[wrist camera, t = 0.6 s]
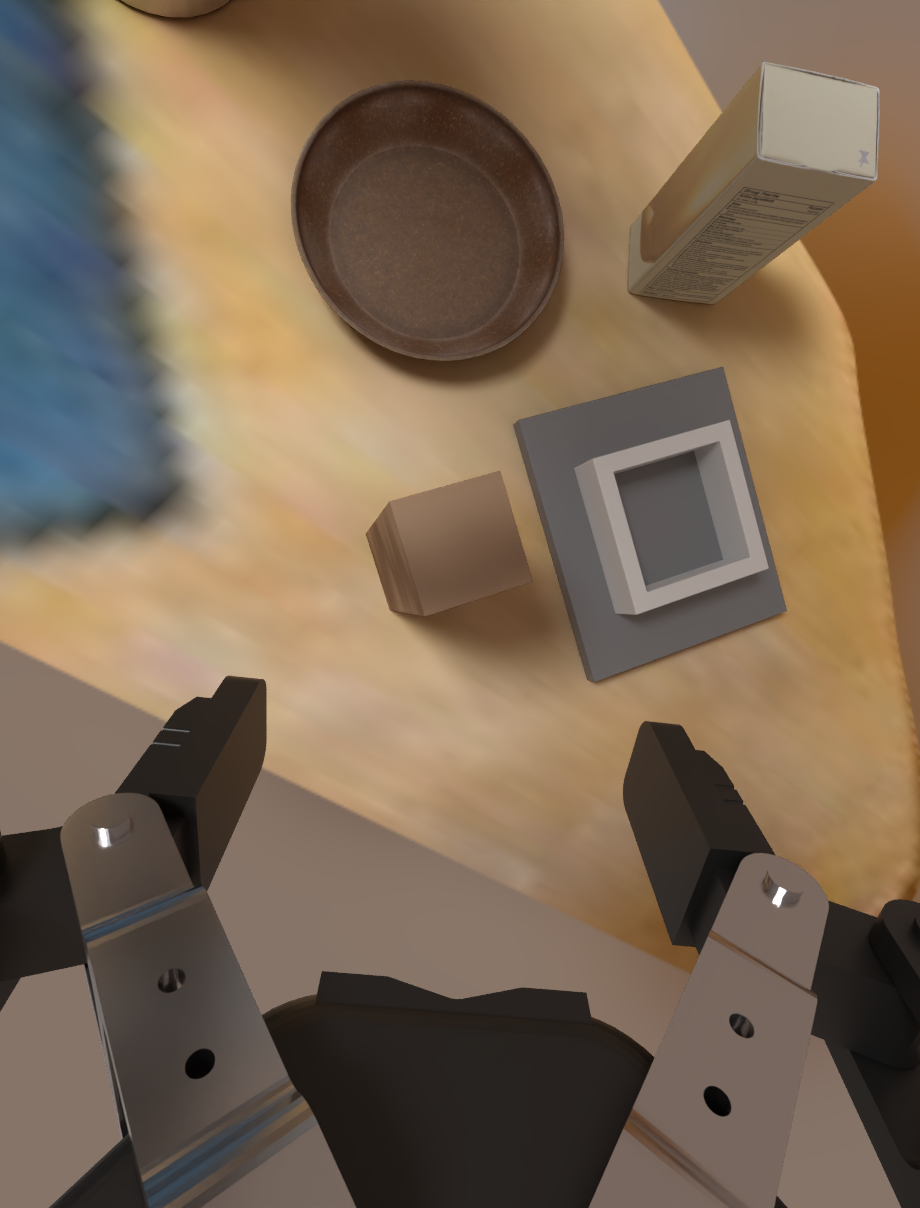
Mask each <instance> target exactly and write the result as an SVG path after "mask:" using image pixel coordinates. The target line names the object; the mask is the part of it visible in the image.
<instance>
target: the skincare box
mask: <svg viewBox="0 0 920 1208" xmlns="http://www.w3.org/2000/svg"><path fill="white" fill-rule="evenodd" d="M878 138H879V89H878V88H877V87H875V86H871V85H867V84H864V83H860V82H857V81H852V80H849V79H845V78H841V77H836V76H831V75H828V74H824V73H818V72H814V71H809V70H805V69H799V68H795V67H789V66H784V65H777V64H773V63H768V62H763V63H762V64H761V65H760V67H759V68H758V69H757V70H756V72H755V73H754V74H753V75H752V77H751V78H750V79H749V80H748V81H747V83H746V84H745V85H744V86H743V88H742V89H741V90H740V91H739V93H738V94H737V95H736V96H735V98H734V99H733V100H732V101H731V103H730V104H729V105H728V106H727V108H726V109H725V110H724V111H723V113H722V114H721V115H720V116H719V118H718V119H717V120H716V121H715V122H714V124H713V125H712V126H711V127H710V129H709V130H708V131H707V132H706V134H705V135H704V136H703V137H702V139H701V140H700V141H699V142H698V144H697V145H696V146H695V147H694V149H693V150H692V151H691V152H690V153H689V155H688V156H687V157H686V158H685V160H684V161H683V162H682V163H681V165H680V166H679V167H678V168H677V169H676V171H675V172H674V173H673V174H672V176H671V177H670V178H669V180H668V181H667V182H666V183H665V185H664V186H663V187H662V188H661V189H660V191H659V192H658V193H657V195H656V196H655V197H654V198H653V199H652V201H651V202H650V203H649V204H648V206H647V207H646V208H645V209H644V210H643V212H642V213H641V214H640V215H639V217H638V218H637V219H636V220H635V222H634V223H633V224H632V226H631V233H630V250H629V275H628V290H629V292H630V293H632V294H638V295H643V296H650V297H656V298H664V299H671V300H679V301H687V302H696V303H706V304H716V303H717V302H719V301H720V300H721V299H723V298H724V297H725V296H726V295H728V294H729V293H730V292H732V291H733V290H734V289H736V288H737V287H738V286H739V285H741V284H742V283H743V282H745V281H746V280H747V279H748V278H750V277H751V276H752V275H754V274H755V273H756V272H758V271H759V270H760V269H761V268H763V267H764V266H765V265H767V264H768V263H769V262H771V261H772V260H773V259H775V258H776V257H777V256H778V255H780V254H781V253H782V252H784V251H785V250H786V249H787V248H789V247H790V246H791V245H793V244H794V243H795V242H797V241H798V240H799V239H801V238H802V237H803V236H804V235H806V234H807V233H808V232H810V231H811V230H812V229H814V228H815V227H816V226H817V225H819V224H820V223H822V222H823V221H824V220H825V219H826V218H828V217H829V216H831V215H832V214H833V213H834V212H836V211H837V210H838V209H840V208H841V207H842V206H843V205H844V204H846V203H847V202H849V201H850V200H851V199H852V198H854V197H855V196H856V195H858V194H859V193H860V192H862V191H863V190H864V189H866V188H867V187H868V186H870V185H871V184H872V183H873V182H874V181H876V179H877V163H878V141H879V140H878Z"/></svg>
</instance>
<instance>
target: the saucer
mask: <svg viewBox="0 0 920 1208" xmlns="http://www.w3.org/2000/svg"><path fill="white" fill-rule="evenodd" d="M291 214H292V225H293V230H294V235H295V240H296V244H297V247H298V250H299V253H300V256H301V259H302V261H303V263H304V265H305V268H306V270H307V272H308V274H309V276H310V278H311V280H312V281H313V283H314V285H315V286H316V288H317V289H318V291H319V292H320V294H321V295H322V297H323V298H324V299H325V300H326V302H327V303H328V304H329V305H330V306H331V308H332V309H333V310H334V311H335V312H336V313H337V314H338V315H339V316H340V317H341V318H342V319H343V320H344V321H345V322H346V323H348V324H349V325H350V326H351V327H352V328H354V329H355V330H356V331H358V332H359V333H360V334H362V335H363V336H365V337H366V338H368V339H370V340H371V341H373V342H375V343H377V344H378V345H380V346H382V347H385V348H387V349H389V350H391V351H394V352H396V353H399V354H402V355H406V356H409V357H414V358H418V359H425V360H433V361H456V360H464V359H470V358H474V357H478V356H481V355H485V354H487V353H490V352H493V351H495V350H497V349H499V348H501V347H503V346H505V345H506V344H508V343H510V342H511V341H513V340H514V339H516V338H517V337H518V336H519V335H521V334H522V333H523V332H524V331H525V330H526V329H527V328H528V327H529V326H530V325H531V324H532V323H533V322H534V321H535V319H536V318H537V317H538V316H539V314H540V313H541V311H542V310H543V308H544V307H545V305H546V304H547V302H548V300H549V299H550V296H551V295H552V292H553V290H554V288H555V285H556V282H557V280H558V276H559V273H560V269H561V264H562V257H563V248H564V229H563V220H562V212H561V208H560V204H559V200H558V196H557V193H556V190H555V187H554V184H553V182H552V179H551V177H550V175H549V173H548V171H547V169H546V167H545V165H544V163H543V162H542V160H541V158H540V156H539V155H538V153H537V152H536V150H535V149H534V148H533V146H532V145H531V144H530V143H529V141H528V140H527V139H526V138H525V136H524V135H523V134H522V133H521V132H520V131H519V130H518V129H517V128H516V127H515V126H514V125H513V124H512V123H511V122H510V121H509V120H508V119H507V118H506V117H504V116H503V115H502V114H501V113H499V112H498V111H497V110H495V109H494V108H493V107H491V106H489V105H488V104H486V103H484V102H482V101H481V100H479V99H477V98H475V97H473V96H472V95H469V94H467V93H465V92H462V91H460V90H457V89H454V88H451V87H448V86H445V85H441V84H436V83H430V82H422V81H397V82H390V83H385V84H380V85H377V86H374V87H371V88H368V89H365V90H362V91H360V92H358V93H356V94H354V95H352V96H350V97H349V98H347V99H345V100H344V101H342V102H341V103H340V104H338V105H337V106H336V107H334V108H333V109H332V110H331V111H330V112H329V113H328V114H327V115H326V116H325V117H324V118H323V119H322V120H321V121H320V122H319V123H318V125H317V126H316V128H315V129H314V131H313V132H312V133H311V135H310V136H309V138H308V140H307V142H306V144H305V146H304V148H303V150H302V152H301V155H300V157H299V160H298V163H297V166H296V169H295V173H294V178H293V183H292V193H291Z"/></svg>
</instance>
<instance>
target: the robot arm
mask: <svg viewBox="0 0 920 1208" xmlns="http://www.w3.org/2000/svg"><path fill="white" fill-rule="evenodd" d="M122 1H123V2H125V3H127V4H128V5H130V6H133V7H135V8H138V9H140V10H143V11H145V12H148V13H151V14H156V15H161V16H166V17H193V16H198V15H202V14H207V13H209V12H211V11H213V10H215V9H217V8H219V7H222V6H223V5H224V4H226V3H227V2H228V1H229V0H122ZM163 728H164V729H163V731H160V732H159V734H158V735H157V737H156V738H155V739H154V741H153V745H150V746H149V747H148V749H147V750H146V752H145V753H144V754H143V756H142V757H141V758H140V760H139V761H138V762H137V764H136V765H135V767H134V768H133V770H132V771H131V772H130V773H129V775H128V776H127V777H126V779H125V780H124V782H123V783H122V784H121V786H120V787H119V789H118V790H117V791H116V792H115V794H111V795H107V796H103V797H101V798H98V799H95V800H93V801H91V802H89V803H87V804H85V805H83V806H82V807H80V808H79V809H78V810H76V811H75V812H74V813H73V814H72V815H71V816H70V817H69V818H68V819H67V820H66V822H65V823H64V825H63V826H61V827H58V828H52V829H47V830H40V831H32V832H26V833H19V834H11V835H4V836H1V832H0V1011H1V1010H2V1008H3V1006H4V1005H5V1003H6V1001H7V1000H8V998H9V996H10V995H11V993H12V991H13V990H14V988H15V986H16V985H17V983H18V981H19V979H20V978H21V977H25V976H30V975H35V974H40V973H44V972H49V971H54V970H58V969H63V968H68V967H72V966H77V965H82V964H83V965H84V970H85V974H86V978H87V983H88V987H89V992H90V996H91V1001H92V1005H93V1009H94V1014H95V1019H96V1023H97V1027H98V1032H99V1036H100V1041H101V1045H102V1050H103V1054H104V1059H105V1063H106V1068H107V1073H108V1078H109V1082H110V1087H111V1092H112V1097H113V1102H114V1107H115V1112H116V1117H117V1121H118V1126H119V1130H120V1135H121V1139H122V1140H121V1141H120V1142H119V1143H118V1144H117V1145H116V1146H115V1147H113V1148H112V1150H110V1151H109V1152H108V1153H107V1154H106V1155H105V1156H104V1157H103V1158H102V1159H101V1160H100V1161H98V1162H97V1163H96V1164H95V1165H94V1166H93V1167H92V1168H91V1169H90V1170H89V1171H88V1172H87V1173H86V1174H85V1175H83V1176H82V1177H81V1178H80V1179H79V1180H78V1181H77V1182H76V1183H75V1184H74V1185H73V1186H72V1187H71V1188H70V1189H68V1190H67V1191H66V1192H65V1193H64V1194H63V1195H62V1196H61V1197H60V1198H59V1199H58V1200H57V1201H56V1202H55V1203H53V1204H52V1205H51V1206H50V1208H787V1207H786V1205H784V1203H783V1202H782V1201H781V1200H780V1199H779V1197H778V1196H777V1191H778V1187H779V1182H780V1177H781V1172H782V1167H783V1163H784V1158H785V1153H786V1148H787V1144H788V1139H789V1134H790V1129H791V1125H792V1120H793V1115H794V1111H795V1106H796V1101H797V1096H798V1092H799V1086H800V1082H801V1077H802V1073H803V1068H804V1063H805V1058H806V1054H807V1049H808V1044H809V1039H810V1035H814V1036H816V1037H819V1038H821V1039H824V1040H825V1042H826V1045H827V1046H828V1048H829V1051H830V1053H831V1055H832V1058H833V1060H834V1062H835V1064H836V1066H837V1069H838V1071H839V1073H840V1075H841V1077H842V1079H843V1082H844V1084H845V1086H846V1088H847V1090H848V1093H849V1095H850V1097H851V1099H852V1101H853V1103H854V1106H855V1108H856V1110H857V1112H858V1114H859V1116H860V1119H861V1121H862V1123H863V1125H864V1127H865V1129H866V1132H867V1134H868V1136H869V1138H870V1140H871V1143H872V1145H873V1147H874V1149H875V1151H876V1153H877V1156H878V1158H879V1160H880V1162H881V1164H882V1166H883V1168H884V1171H885V1173H886V1175H887V1177H888V1180H889V1182H890V1184H891V1186H892V1188H893V1190H894V1192H895V1195H896V1197H897V1199H898V1201H899V1203H900V1206H901V1208H920V903H917V902H914V901H909V900H900V899H899V900H892V901H889V902H888V903H886V904H885V906H884V907H883V909H882V911H881V912H880V914H879V916H878V918H877V917H874V916H871V915H868V914H865V913H862V912H859V911H856V910H853V909H851V908H848V907H845V906H842V905H839V904H836V903H833V902H831V901H828V899H827V896H826V894H825V892H824V891H823V889H822V887H821V886H820V885H819V884H818V882H817V881H816V880H815V879H814V878H813V877H812V876H811V875H810V874H808V873H807V872H806V871H805V870H803V869H802V868H800V867H799V866H797V865H796V864H794V863H792V862H790V861H788V860H786V859H784V858H781V857H778V856H776V855H775V854H774V852H773V850H772V849H771V847H770V845H769V844H768V842H767V840H766V839H765V837H764V835H763V834H762V832H761V830H760V829H759V827H758V825H757V824H756V822H755V820H754V819H753V817H752V815H751V814H750V812H749V810H748V809H747V807H746V805H743V800H742V799H741V797H740V795H739V794H738V792H737V790H734V785H733V784H732V782H731V780H730V779H729V777H728V775H727V774H726V772H725V770H724V769H723V767H722V766H720V765H719V764H718V763H717V762H716V761H715V760H714V759H713V758H711V757H710V756H709V755H708V754H707V753H706V752H705V751H700V750H695V748H694V746H693V745H692V743H691V741H690V739H689V737H688V736H687V734H686V732H685V730H684V729H683V727H682V726H681V725H676V724H667V723H657V722H648V721H645V722H643V723H642V725H641V726H640V729H639V732H638V735H637V738H636V742H635V745H634V748H633V752H632V755H631V758H630V762H629V765H628V768H627V772H626V775H625V779H624V785H623V800H624V806H625V810H626V813H627V815H628V818H629V821H630V824H631V827H632V830H633V833H634V836H635V839H636V841H637V844H638V847H639V850H640V853H641V856H642V859H643V862H644V864H645V867H646V870H647V873H648V876H649V879H650V882H651V885H652V888H653V890H654V893H655V896H656V899H657V902H658V905H659V908H660V911H661V914H662V916H663V919H664V922H665V925H666V928H667V931H668V934H669V937H670V940H671V942H672V945H679V946H690V947H696V948H697V951H698V954H699V958H698V960H697V962H696V965H695V967H694V969H693V971H692V974H691V976H690V979H689V981H688V983H687V985H686V988H685V990H684V992H683V994H682V997H681V999H680V1001H679V1004H678V1006H677V1008H676V1010H675V1013H674V1015H673V1017H672V1020H671V1022H670V1024H669V1026H668V1029H667V1031H666V1033H665V1036H664V1038H663V1040H662V1042H661V1044H660V1047H659V1049H658V1051H657V1054H656V1056H655V1058H654V1057H653V1056H652V1055H651V1054H650V1053H649V1052H648V1051H647V1050H646V1049H645V1048H644V1047H642V1046H641V1045H640V1044H638V1043H637V1042H635V1041H634V1040H633V1039H632V1038H630V1037H629V1036H627V1035H626V1034H624V1033H623V1032H621V1031H619V1030H618V1029H616V1028H615V1027H613V1026H611V1025H608V1024H606V1023H604V1022H602V1021H600V1020H598V1019H595V1018H592V1017H591V1014H590V1010H589V1005H588V999H587V994H586V993H583V992H571V991H558V990H547V989H534V988H517V989H513V990H507V991H502V992H496V993H492V994H486V995H481V996H475V997H470V998H465V999H451V998H448V997H445V996H442V995H439V994H436V993H433V992H431V991H428V990H424V989H422V988H419V987H416V986H413V985H411V984H408V983H405V982H402V981H399V980H396V979H393V978H390V977H387V976H373V975H362V974H349V973H338V972H324V971H322V974H321V978H320V983H319V988H318V993H317V994H316V995H311V996H305V997H302V998H299V999H296V1000H292V1001H289V1002H287V1003H284V1004H282V1005H280V1006H278V1007H276V1008H273V1009H271V1010H270V1011H268V1012H266V1013H265V1014H263V1015H261V1013H260V1011H259V1008H258V1006H257V1004H256V1002H255V999H254V997H253V995H252V992H251V990H250V988H249V986H248V984H247V981H246V979H245V977H244V974H243V972H242V970H241V968H240V965H239V963H238V961H237V959H236V956H235V954H234V952H233V950H232V947H231V945H230V943H229V940H228V938H227V936H226V934H225V932H224V929H223V927H222V925H221V922H220V920H219V918H218V916H217V914H216V911H215V909H214V907H213V904H212V902H211V900H210V898H209V896H208V894H207V890H208V888H209V886H210V884H211V881H212V879H213V877H214V875H215V872H216V870H217V868H218V865H219V863H220V861H221V859H222V856H223V854H224V852H225V850H226V847H227V845H228V843H229V841H230V838H231V836H232V834H233V831H234V829H235V827H236V825H237V823H238V820H239V818H240V816H241V814H242V811H243V809H244V807H245V804H246V802H247V800H248V798H249V795H250V793H251V791H252V789H253V786H254V784H255V782H256V780H257V777H258V775H259V773H260V771H261V768H262V765H263V761H264V756H265V751H266V682H265V680H263V679H254V678H245V677H236V676H227V677H225V679H224V680H223V682H222V683H221V685H220V686H219V688H218V689H217V691H216V692H215V694H214V695H213V697H212V698H203V697H196V698H194V699H193V700H191V701H190V702H188V703H186V704H185V705H183V706H182V707H180V708H179V709H177V710H176V711H175V712H174V713H173V715H172V716H171V717H170V719H169V720H168V722H167V723H166V724H165V726H164V727H163Z"/></svg>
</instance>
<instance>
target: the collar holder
mask: <svg viewBox="0 0 920 1208" xmlns="http://www.w3.org/2000/svg"><path fill="white" fill-rule="evenodd" d="M513 426H514V429H515V433H516V436H517V439H518V443H519V446H520V450H521V453H522V457H523V460H524V464H525V467H526V470H527V474H528V477H529V481H530V484H531V488H532V491H533V494H534V498H535V501H536V505H537V508H538V512H539V515H540V519H541V522H542V525H543V529H544V532H545V536H546V539H547V543H548V546H549V549H550V553H551V556H552V560H553V563H554V567H555V570H556V574H557V577H558V580H559V584H560V587H561V591H562V594H563V598H564V601H565V604H566V608H567V611H568V615H569V618H570V622H571V625H572V629H573V632H574V635H575V639H576V642H577V646H578V649H579V653H580V656H581V659H582V663H583V666H584V670H585V673H586V677H587V680H589V681H593V682H596V681H599V680H602V679H604V678H607V677H610V676H612V675H615V674H618V673H621V672H623V671H626V670H629V669H631V668H634V667H637V666H640V665H642V664H645V663H648V662H650V661H653V660H656V659H658V658H661V657H664V656H667V655H669V654H672V653H675V652H677V651H680V650H683V649H685V648H688V647H691V646H694V645H696V644H699V643H702V642H704V641H707V640H710V639H713V638H715V637H718V636H721V635H723V634H726V633H729V632H731V631H734V630H737V629H740V628H742V627H745V626H748V625H750V624H753V623H756V622H759V621H761V620H764V619H767V618H769V617H772V616H775V615H777V614H780V613H783V612H786V611H787V609H786V606H785V602H784V598H783V594H782V590H781V587H780V583H779V579H778V575H777V571H776V567H775V564H774V560H773V556H772V552H771V548H770V545H769V541H768V537H767V533H766V529H765V525H764V522H763V518H762V514H761V510H760V506H759V503H758V499H757V495H756V491H755V487H754V484H753V480H752V476H751V472H750V468H749V464H748V461H747V457H746V453H745V449H744V445H743V442H742V438H741V434H740V430H739V426H738V422H737V419H736V415H735V411H734V407H733V403H732V400H731V396H730V392H729V388H728V384H727V380H726V377H725V373H724V369H723V367H720V368H716V369H712V370H708V371H704V372H701V373H697V374H693V375H689V376H685V377H682V378H678V379H674V380H670V381H666V382H662V383H659V384H655V385H651V386H647V387H643V388H640V389H636V390H632V391H628V392H624V393H620V394H617V395H613V396H609V397H605V398H601V399H597V400H594V401H590V402H586V403H582V404H578V405H575V406H571V407H567V408H563V409H559V410H555V411H552V412H548V413H544V414H540V415H536V416H533V417H529V418H525V419H521V420H518V421H517V422H516V423H515V424H514V425H513Z"/></svg>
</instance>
